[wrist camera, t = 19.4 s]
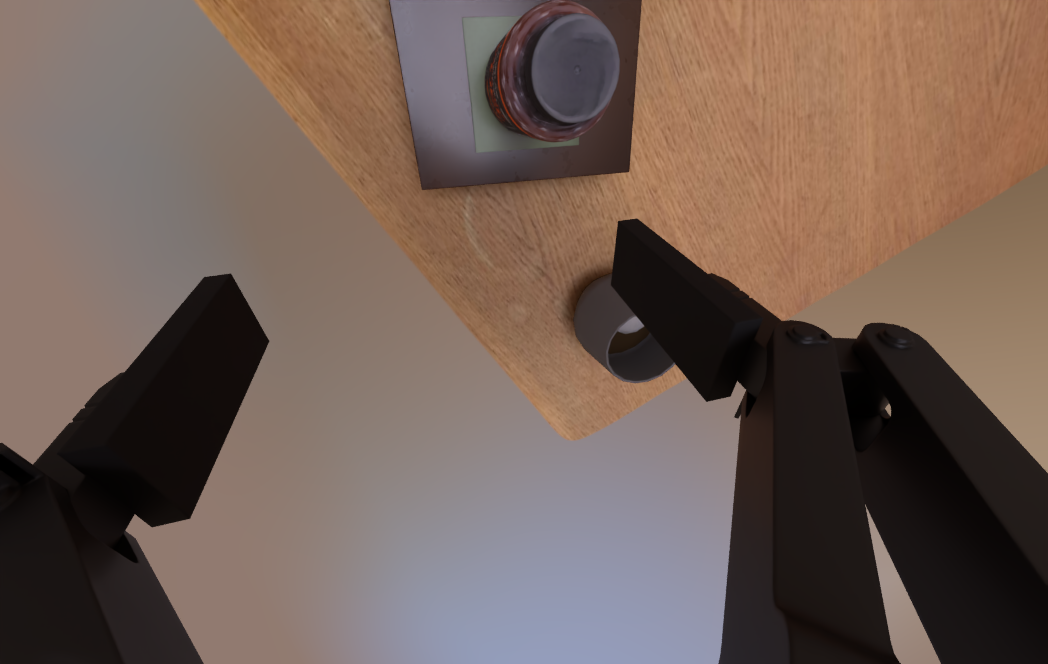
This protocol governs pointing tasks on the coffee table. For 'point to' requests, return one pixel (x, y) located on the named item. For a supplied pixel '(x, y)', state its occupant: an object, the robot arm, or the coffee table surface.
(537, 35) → the supplement bottle
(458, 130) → the dark wooden box
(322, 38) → the coffee table surface
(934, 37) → the coffee table surface
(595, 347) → the cup
